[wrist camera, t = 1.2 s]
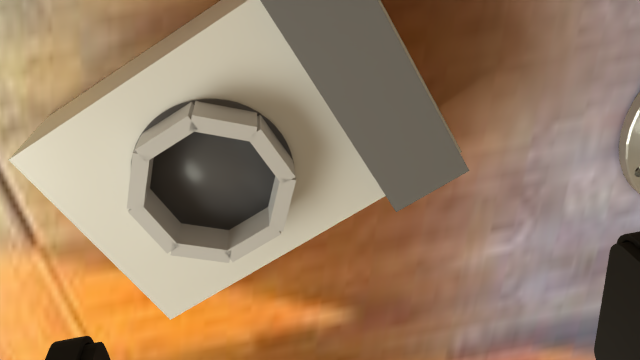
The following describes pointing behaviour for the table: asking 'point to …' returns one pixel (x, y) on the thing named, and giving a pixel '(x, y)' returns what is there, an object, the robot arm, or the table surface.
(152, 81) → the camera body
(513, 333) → the table surface
